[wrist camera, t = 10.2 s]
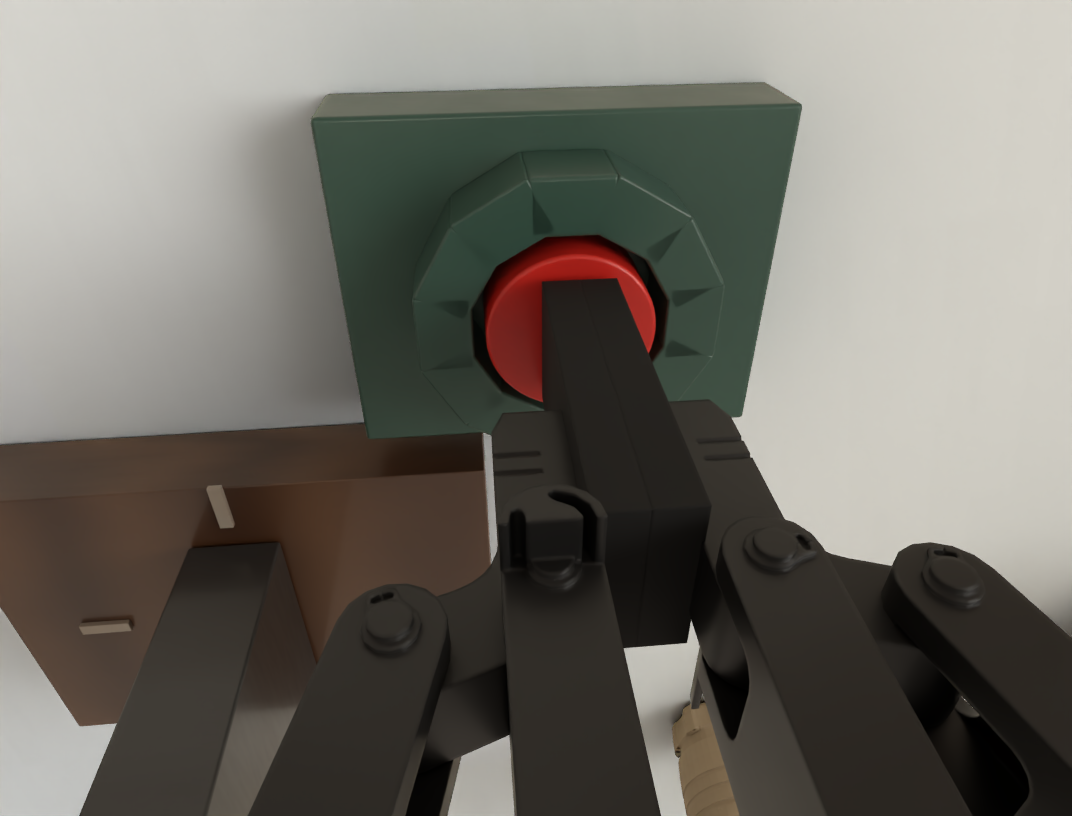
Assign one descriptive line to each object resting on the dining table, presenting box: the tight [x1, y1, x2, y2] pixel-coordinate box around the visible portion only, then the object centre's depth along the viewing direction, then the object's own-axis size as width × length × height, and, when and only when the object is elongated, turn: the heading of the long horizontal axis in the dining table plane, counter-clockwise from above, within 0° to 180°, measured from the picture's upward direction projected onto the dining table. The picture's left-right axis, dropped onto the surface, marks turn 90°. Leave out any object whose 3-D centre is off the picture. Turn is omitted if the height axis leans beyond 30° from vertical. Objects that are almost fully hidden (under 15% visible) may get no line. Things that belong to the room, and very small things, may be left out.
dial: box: [79, 542, 316, 816], centre depth 18 cm, size 6×2×9 cm, turn 0°
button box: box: [311, 82, 802, 439], centre depth 17 cm, size 10×8×4 cm
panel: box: [0, 424, 491, 726], centre depth 23 cm, size 14×10×3 cm
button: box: [483, 235, 656, 402], centre depth 16 cm, size 4×4×2 cm
